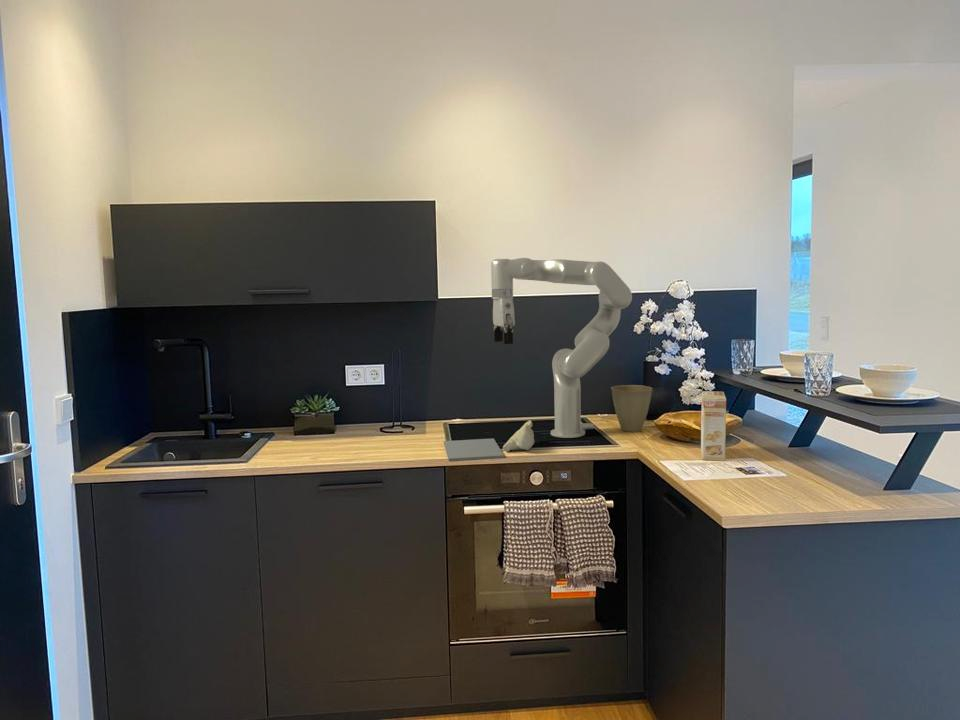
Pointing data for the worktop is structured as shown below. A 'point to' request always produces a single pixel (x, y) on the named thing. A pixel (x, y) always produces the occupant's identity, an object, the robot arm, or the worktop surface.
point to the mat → (472, 449)
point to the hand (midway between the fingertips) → (503, 342)
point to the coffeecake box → (713, 425)
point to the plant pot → (631, 405)
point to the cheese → (521, 438)
